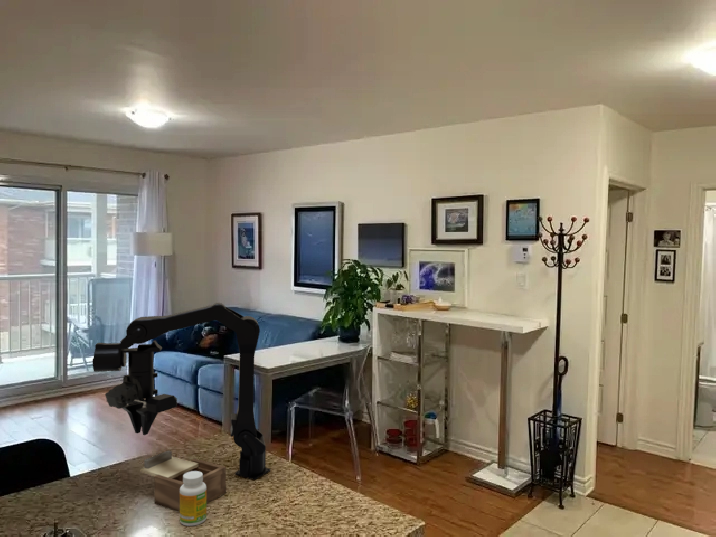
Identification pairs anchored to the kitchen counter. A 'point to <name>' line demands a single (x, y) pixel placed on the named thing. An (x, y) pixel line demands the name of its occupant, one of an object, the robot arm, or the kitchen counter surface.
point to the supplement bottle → (192, 499)
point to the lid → (167, 465)
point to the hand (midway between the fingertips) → (141, 433)
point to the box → (170, 488)
